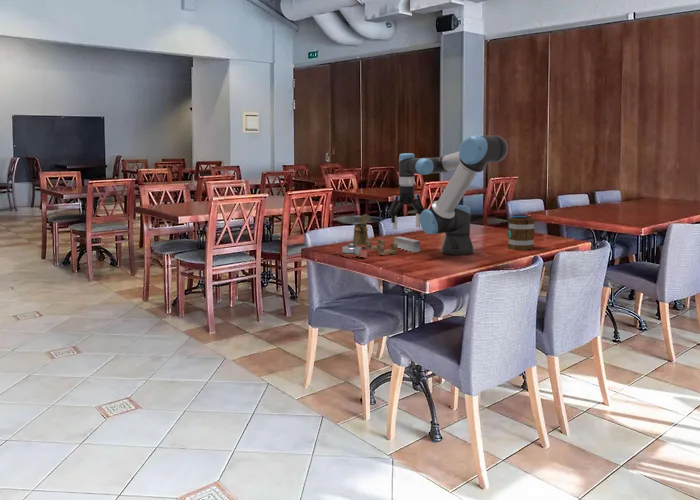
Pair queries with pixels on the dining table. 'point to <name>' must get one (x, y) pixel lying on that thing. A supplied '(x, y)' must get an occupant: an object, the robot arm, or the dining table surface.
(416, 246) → the steel bar
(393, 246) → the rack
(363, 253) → the silver lever handle
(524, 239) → the mug
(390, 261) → the dining table surface
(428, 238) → the dining table surface
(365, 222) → the bronze figurine
